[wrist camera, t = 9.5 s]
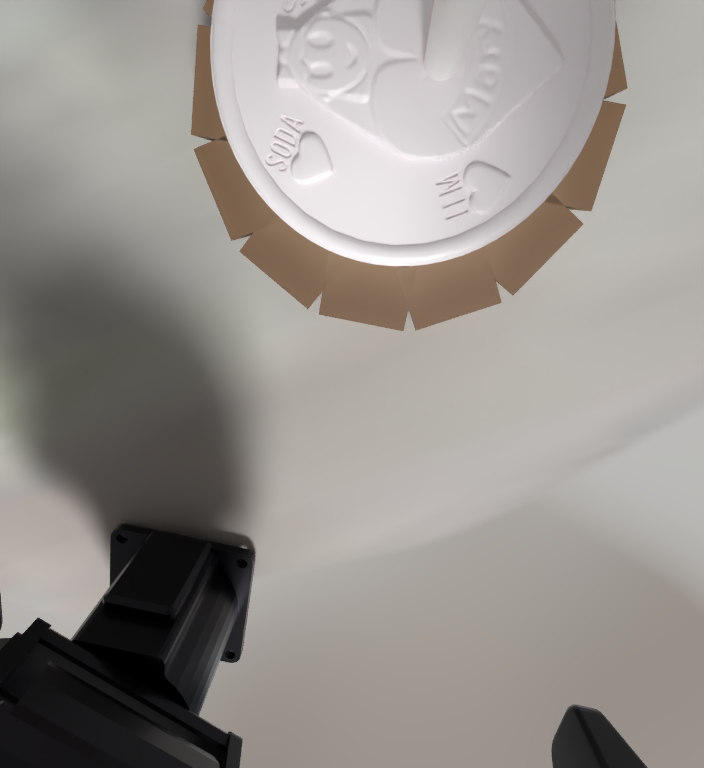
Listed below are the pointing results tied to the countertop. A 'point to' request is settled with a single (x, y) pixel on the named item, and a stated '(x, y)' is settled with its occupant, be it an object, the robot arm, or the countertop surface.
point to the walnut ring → (395, 283)
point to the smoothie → (408, 114)
